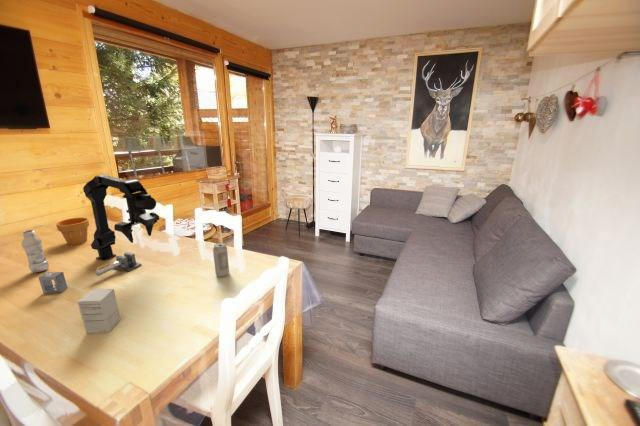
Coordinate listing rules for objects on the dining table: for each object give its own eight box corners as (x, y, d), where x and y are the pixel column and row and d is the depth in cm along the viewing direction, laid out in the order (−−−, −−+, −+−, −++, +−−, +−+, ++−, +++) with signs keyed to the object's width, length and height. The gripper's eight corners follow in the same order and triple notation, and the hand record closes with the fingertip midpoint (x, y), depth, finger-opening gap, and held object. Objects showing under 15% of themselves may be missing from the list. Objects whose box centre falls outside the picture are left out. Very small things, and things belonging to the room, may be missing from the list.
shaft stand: (91, 278, 128) (88, 265, 126) (127, 262, 143) (124, 250, 142) (106, 282, 125) (103, 269, 123) (141, 265, 140) (139, 254, 138)
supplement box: (99, 319, 101) (92, 288, 97) (121, 318, 102) (114, 287, 98) (85, 334, 94) (76, 301, 90) (108, 333, 95) (100, 300, 91)
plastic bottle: (53, 268, 136) (41, 229, 130) (36, 275, 130) (23, 234, 124) (44, 266, 138) (33, 228, 132) (27, 273, 132) (14, 233, 126)
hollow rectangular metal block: (43, 293, 116) (38, 277, 114) (51, 288, 120) (46, 272, 118) (60, 293, 117) (55, 276, 114) (67, 287, 120) (63, 271, 118)
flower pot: (97, 240, 169) (92, 220, 165) (67, 248, 158) (61, 227, 154) (87, 235, 176) (82, 216, 173) (57, 243, 165) (52, 222, 161)
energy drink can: (225, 270, 137) (222, 241, 132) (231, 274, 133) (229, 245, 128) (213, 274, 133) (210, 244, 128) (219, 279, 129) (216, 248, 124)
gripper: (128, 215, 119) (135, 249, 124) (165, 204, 136) (170, 234, 141) (110, 212, 123) (117, 245, 127) (148, 202, 140) (153, 231, 144)
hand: (141, 239), depth 135 cm, fingers open, 9 cm apart
